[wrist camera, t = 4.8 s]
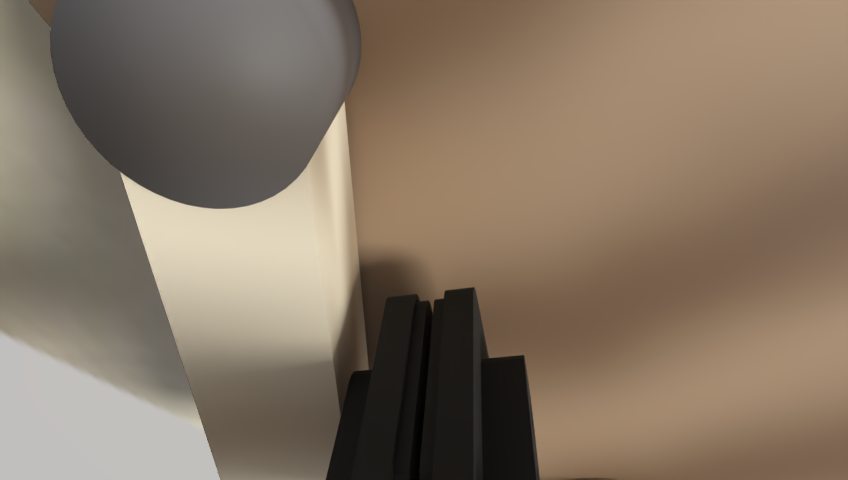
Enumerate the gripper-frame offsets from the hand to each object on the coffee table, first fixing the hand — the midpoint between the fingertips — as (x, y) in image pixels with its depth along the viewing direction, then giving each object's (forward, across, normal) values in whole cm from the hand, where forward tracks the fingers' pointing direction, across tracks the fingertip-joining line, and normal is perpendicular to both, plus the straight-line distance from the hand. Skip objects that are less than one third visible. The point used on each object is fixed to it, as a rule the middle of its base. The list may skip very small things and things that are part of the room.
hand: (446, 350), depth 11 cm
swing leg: (+1, +3, -1) cm, 3 cm away
